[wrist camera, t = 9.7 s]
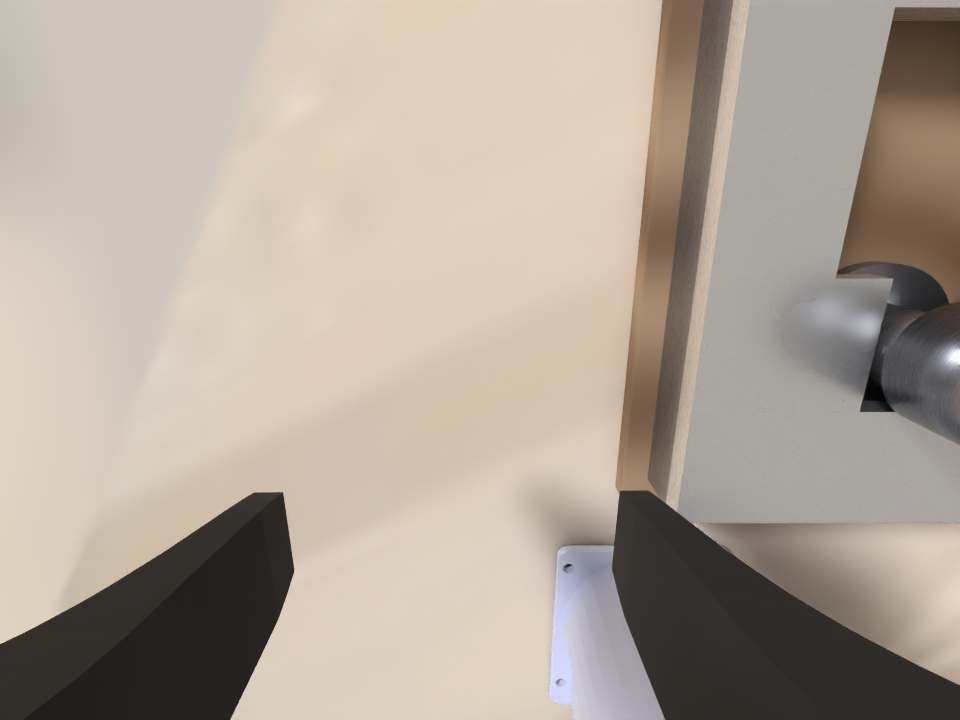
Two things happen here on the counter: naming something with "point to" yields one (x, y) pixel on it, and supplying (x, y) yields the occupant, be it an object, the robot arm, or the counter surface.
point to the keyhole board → (875, 208)
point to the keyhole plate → (785, 283)
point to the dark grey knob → (916, 350)
